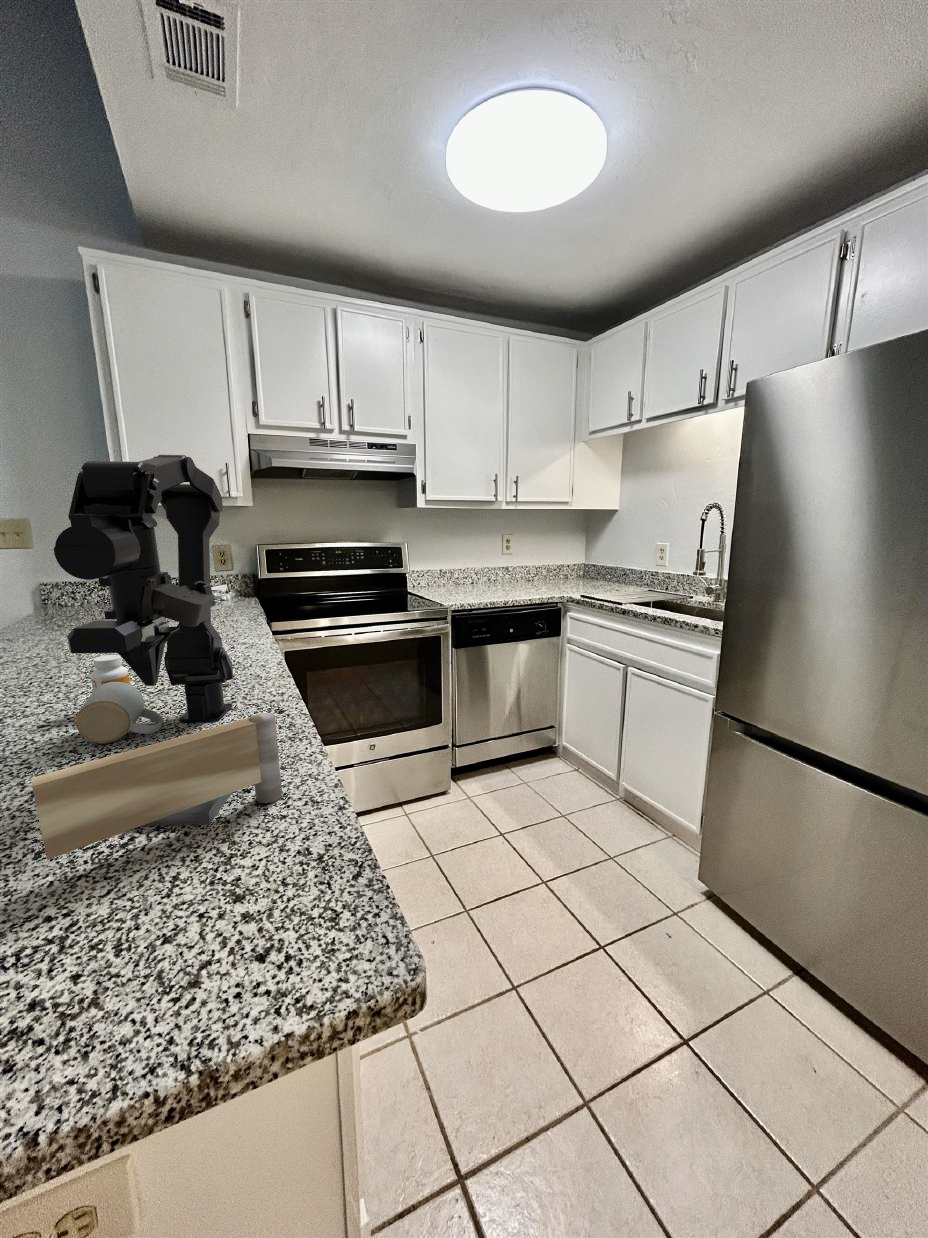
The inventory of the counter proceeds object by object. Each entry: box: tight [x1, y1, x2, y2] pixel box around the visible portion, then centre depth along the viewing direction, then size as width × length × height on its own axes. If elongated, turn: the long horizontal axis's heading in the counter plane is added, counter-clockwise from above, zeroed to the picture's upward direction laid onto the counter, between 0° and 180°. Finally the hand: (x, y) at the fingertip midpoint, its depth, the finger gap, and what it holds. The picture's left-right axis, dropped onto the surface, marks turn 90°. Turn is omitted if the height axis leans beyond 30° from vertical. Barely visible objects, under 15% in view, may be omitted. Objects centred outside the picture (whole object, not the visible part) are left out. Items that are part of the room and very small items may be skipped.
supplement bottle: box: [90, 654, 131, 692], centre depth 89 cm, size 5×5×10 cm
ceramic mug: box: [75, 682, 164, 744], centre depth 80 cm, size 11×8×8 cm
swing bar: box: [30, 712, 283, 861], centre depth 55 cm, size 3×22×10 cm, turn 133°
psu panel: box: [141, 792, 233, 827], centre depth 62 cm, size 12×16×2 cm
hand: (151, 684), depth 67 cm, fingers closed
